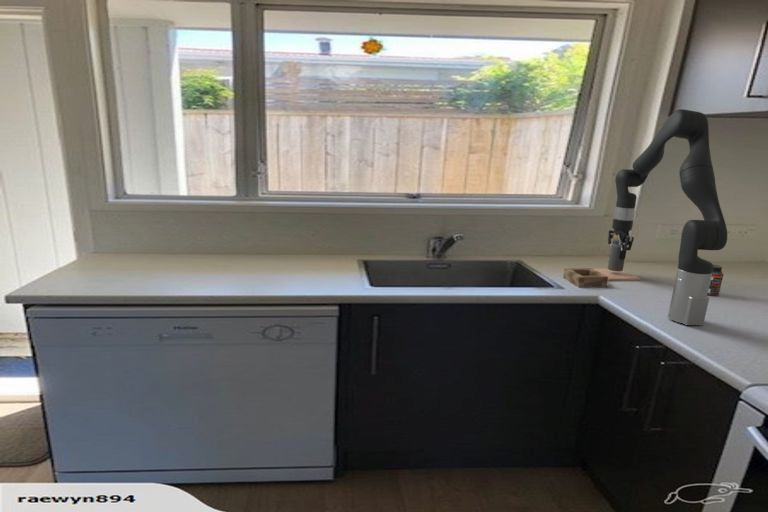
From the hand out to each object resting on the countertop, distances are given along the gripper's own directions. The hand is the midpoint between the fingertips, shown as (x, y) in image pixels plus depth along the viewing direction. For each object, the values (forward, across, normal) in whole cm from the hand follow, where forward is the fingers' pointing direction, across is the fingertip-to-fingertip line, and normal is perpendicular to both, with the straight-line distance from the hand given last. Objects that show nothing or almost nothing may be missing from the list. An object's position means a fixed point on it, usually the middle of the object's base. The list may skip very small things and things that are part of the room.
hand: (617, 257), depth 194 cm
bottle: (+6, 0, 0) cm, 6 cm away
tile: (+8, 0, 0) cm, 8 cm away
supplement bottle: (+9, -24, -24) cm, 35 cm away
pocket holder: (+8, -8, +18) cm, 21 cm away
